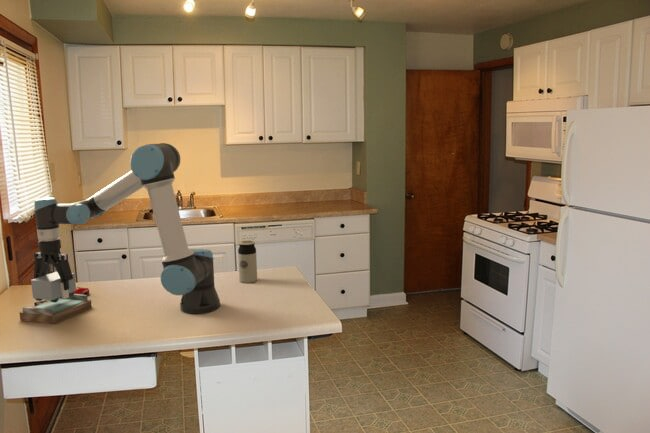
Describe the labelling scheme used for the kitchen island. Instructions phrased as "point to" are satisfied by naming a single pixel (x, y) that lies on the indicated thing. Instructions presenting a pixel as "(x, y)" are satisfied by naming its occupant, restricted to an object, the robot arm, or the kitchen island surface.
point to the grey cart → (50, 287)
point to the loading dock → (56, 309)
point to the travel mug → (247, 261)
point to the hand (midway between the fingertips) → (55, 296)
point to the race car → (82, 291)
